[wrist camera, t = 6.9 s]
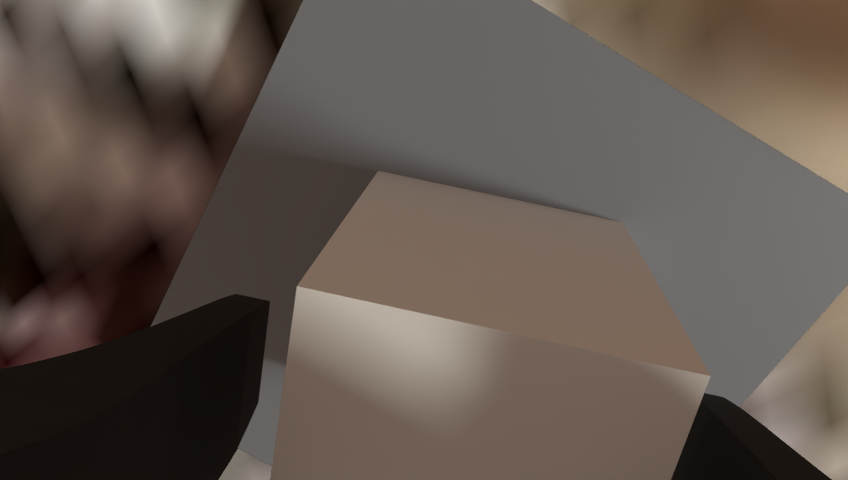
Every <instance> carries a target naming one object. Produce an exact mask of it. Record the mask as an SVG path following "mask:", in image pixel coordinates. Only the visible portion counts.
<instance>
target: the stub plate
mask: <svg viewBox="0 0 848 480" xmlns="http://www.w3.org/2000/svg"><path fill="white" fill-rule="evenodd" d="M378 171H382V172H387V173H392V174H396V175H401V176H406V177H411V178H415V179H420V180H425V181H430V182H434V183H439V184H444V185H449V186H453V187H458V188H463V189H467V190H472V191H477V192H482V193H486V194H491V195H496V196H501V197H505V198H510V199H515V200H519V201H524V202H529V203H534V204H538V205H543V206H548V207H553V208H557V209H562V210H567V211H572V212H576V213H581V214H586V215H590V216H595V217H600V218H605V219H609V220H614V221H619V222H623V224H624V226H625V227H626V229H627V231H628V233H629V234H630V236H631V238H632V240H633V241H634V243H635V245H636V247H637V248H638V250H639V252H640V253H641V255H642V257H643V259H644V260H645V262H646V264H647V266H648V267H649V269H650V271H651V273H652V274H653V276H654V278H655V280H656V281H657V283H658V285H659V287H660V288H661V290H662V292H663V294H664V295H665V297H666V299H667V301H668V302H669V304H670V306H671V308H672V309H673V311H674V313H675V315H676V316H677V318H678V320H679V322H680V323H681V325H682V327H683V329H684V330H685V332H686V334H687V336H688V337H689V339H690V341H691V343H692V344H693V346H694V348H695V350H696V351H697V353H698V355H699V357H700V358H701V360H702V362H703V364H704V365H705V367H706V369H707V371H708V372H709V374H710V376H711V377H710V379H709V382H708V385H707V387H706V390H705V392H704V393H707V394H711V395H716V396H721V397H724V398H726V399H727V400H729V401H731V402H732V403H734V404H735V405H737V406H738V407H740V406H741V405H742V404H743V403H744V402H745V400H746V399H747V398H748V397H749V396H750V395H751V394H752V393H753V391H754V390H755V389H756V388H757V387H758V386H759V385H760V383H761V382H762V381H763V380H764V379H765V378H766V377H767V376H768V374H769V373H770V372H771V371H772V370H773V369H774V368H775V367H776V365H777V364H778V363H779V362H780V361H781V360H782V359H783V357H784V356H785V355H786V354H787V353H788V352H789V351H790V350H791V348H792V347H793V346H794V345H795V344H796V343H797V342H798V341H799V339H800V338H801V337H802V336H803V335H804V334H805V333H806V331H807V330H808V329H809V328H810V327H811V326H812V325H813V324H814V322H815V321H816V320H817V319H818V318H819V317H820V316H821V314H822V313H823V312H824V311H825V310H826V309H827V308H828V307H829V305H830V304H831V303H832V302H833V301H834V300H835V299H836V298H837V296H838V295H839V294H840V293H841V292H842V291H843V290H844V288H845V287H846V286H847V285H848V193H846V192H845V191H843V190H841V189H840V188H838V187H836V186H835V185H833V184H832V183H830V182H828V181H827V180H825V179H823V178H822V177H820V176H818V175H817V174H815V173H813V172H812V171H810V170H809V169H807V168H805V167H804V166H802V165H800V164H799V163H797V162H795V161H794V160H792V159H791V158H789V157H787V156H786V155H784V154H782V153H781V152H779V151H777V150H776V149H774V148H772V147H771V146H769V145H768V144H766V143H764V142H763V141H761V140H759V139H758V138H756V137H754V136H753V135H751V134H750V133H748V132H746V131H745V130H743V129H741V128H740V127H738V126H736V125H735V124H733V123H732V122H730V121H728V120H727V119H725V118H723V117H722V116H720V115H718V114H717V113H715V112H713V111H712V110H710V109H709V108H707V107H705V106H704V105H702V104H700V103H699V102H697V101H695V100H694V99H692V98H691V97H689V96H687V95H686V94H684V93H682V92H681V91H679V90H677V89H676V88H674V87H672V86H671V85H669V84H668V83H666V82H664V81H663V80H661V79H659V78H658V77H656V76H654V75H653V74H651V73H650V72H648V71H646V70H645V69H643V68H641V67H640V66H638V65H636V64H635V63H633V62H631V61H630V60H628V59H627V58H625V57H623V56H622V55H620V54H618V53H617V52H615V51H613V50H612V49H610V48H609V47H607V46H605V45H604V44H602V43H600V42H599V41H597V40H595V39H594V38H592V37H590V36H589V35H587V34H586V33H584V32H582V31H581V30H579V29H577V28H576V27H574V26H572V25H571V24H569V23H568V22H566V21H564V20H563V19H561V18H559V17H558V16H556V15H554V14H553V13H551V12H550V11H548V10H546V9H545V8H543V7H541V6H540V5H538V4H536V3H535V2H533V1H531V0H303V2H302V4H301V6H300V8H299V10H298V12H297V14H296V16H295V19H294V21H293V23H292V25H291V27H290V29H289V31H288V34H287V36H286V38H285V40H284V42H283V44H282V46H281V49H280V51H279V53H278V55H277V57H276V59H275V61H274V64H273V66H272V68H271V70H270V72H269V74H268V76H267V79H266V81H265V83H264V85H263V87H262V89H261V91H260V94H259V96H258V98H257V100H256V102H255V104H254V106H253V108H252V111H251V113H250V115H249V117H248V119H247V121H246V123H245V126H244V128H243V130H242V132H241V134H240V136H239V138H238V141H237V143H236V145H235V147H234V149H233V151H232V153H231V156H230V158H229V160H228V162H227V164H226V166H225V168H224V171H223V173H222V175H221V177H220V179H219V181H218V183H217V186H216V188H215V190H214V192H213V194H212V196H211V198H210V200H209V203H208V205H207V207H206V209H205V211H204V213H203V215H202V218H201V220H200V222H199V224H198V226H197V228H196V230H195V233H194V235H193V237H192V239H191V241H190V243H189V245H188V248H187V250H186V252H185V254H184V256H183V258H182V260H181V263H180V265H179V267H178V269H177V271H176V273H175V275H174V277H173V280H172V282H171V284H170V286H169V288H168V290H167V292H166V295H165V297H164V299H163V301H162V303H161V305H160V307H159V310H158V312H157V314H156V316H155V318H154V320H153V322H152V325H151V326H154V325H156V324H159V323H161V322H164V321H166V320H169V319H171V318H174V317H176V316H179V315H181V314H184V313H186V312H189V311H191V310H193V309H196V308H198V307H201V306H203V305H206V304H208V303H211V302H213V301H216V300H218V299H221V298H224V297H227V296H230V295H234V294H239V295H244V296H249V297H253V298H258V299H263V300H267V301H270V307H269V316H268V325H267V333H266V342H265V350H264V359H263V368H262V376H261V385H260V394H259V402H258V405H257V407H256V409H255V411H254V414H253V416H252V418H251V420H250V423H249V425H248V427H247V429H246V432H245V434H244V436H243V438H242V440H241V442H240V444H239V446H238V449H240V450H242V451H243V452H245V453H247V454H249V455H251V456H253V457H255V458H257V459H259V460H260V461H262V462H264V463H266V464H268V465H270V466H272V463H273V456H274V449H275V441H276V434H277V427H278V420H279V412H280V405H281V398H282V391H283V383H284V376H285V369H286V361H287V354H288V347H289V340H290V332H291V325H292V318H293V311H294V303H295V296H296V289H297V285H298V284H299V282H300V281H301V280H302V278H303V277H304V275H305V274H306V272H307V271H308V270H309V268H310V267H311V265H312V264H313V263H314V261H315V260H316V258H317V257H318V255H319V254H320V253H321V251H322V250H323V248H324V247H325V246H326V244H327V243H328V241H329V240H330V238H331V237H332V236H333V234H334V233H335V231H336V230H337V229H338V227H339V226H340V224H341V223H342V221H343V220H344V219H345V217H346V216H347V214H348V213H349V212H350V210H351V209H352V207H353V206H354V204H355V203H356V202H357V200H358V199H359V197H360V196H361V195H362V193H363V192H364V190H365V189H366V187H367V186H368V185H369V183H370V182H371V180H372V179H373V178H374V176H375V175H376V173H377V172H378Z"/></svg>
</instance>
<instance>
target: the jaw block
mask: <svg viewBox="0 0 848 480" xmlns="http://www.w3.org/2000/svg"><path fill="white" fill-rule="evenodd" d="M710 377H711V376H710V374H709V372H708V371H707V369H706V367H705V365H704V364H703V362H702V360H701V358H700V357H699V355H698V353H697V351H696V350H695V348H694V346H693V344H692V343H691V341H690V339H689V337H688V336H687V334H686V332H685V330H684V329H683V327H682V325H681V323H680V322H679V320H678V318H677V316H676V315H675V313H674V311H673V309H672V308H671V306H670V304H669V302H668V301H667V299H666V297H665V295H664V294H663V292H662V290H661V288H660V287H659V285H658V283H657V281H656V280H655V278H654V276H653V274H652V273H651V271H650V269H649V267H648V266H647V264H646V262H645V260H644V259H643V257H642V255H641V253H640V252H639V250H638V248H637V247H636V245H635V243H634V241H633V240H632V238H631V236H630V234H629V233H628V231H627V229H626V227H625V226H624V224H623V222H619V221H614V220H609V219H605V218H600V217H595V216H590V215H586V214H581V213H576V212H572V211H567V210H562V209H557V208H553V207H548V206H543V205H538V204H534V203H529V202H524V201H519V200H515V199H510V198H505V197H501V196H496V195H491V194H486V193H482V192H477V191H472V190H467V189H463V188H458V187H453V186H449V185H444V184H439V183H434V182H430V181H425V180H420V179H415V178H411V177H406V176H401V175H396V174H392V173H387V172H382V171H378V172H377V173H376V175H375V176H374V178H373V179H372V180H371V182H370V183H369V185H368V186H367V187H366V189H365V190H364V192H363V193H362V195H361V196H360V197H359V199H358V200H357V202H356V203H355V204H354V206H353V207H352V209H351V210H350V212H349V213H348V214H347V216H346V217H345V219H344V220H343V221H342V223H341V224H340V226H339V227H338V229H337V230H336V231H335V233H334V234H333V236H332V237H331V238H330V240H329V241H328V243H327V244H326V246H325V247H324V248H323V250H322V251H321V253H320V254H319V255H318V257H317V258H316V260H315V261H314V263H313V264H312V265H311V267H310V268H309V270H308V271H307V272H306V274H305V275H304V277H303V278H302V280H301V281H300V282H299V284H298V285H297V289H296V296H295V303H294V311H293V318H292V325H291V332H290V340H289V347H288V354H287V361H286V369H285V376H284V383H283V391H282V398H281V405H280V412H279V420H278V427H277V434H276V441H275V449H274V456H273V463H272V470H271V478H270V480H671V478H672V476H673V473H674V471H675V468H676V465H677V463H678V460H679V458H680V455H681V452H682V450H683V447H684V444H685V442H686V439H687V437H688V434H689V431H690V429H691V426H692V424H693V421H694V418H695V416H696V413H697V411H698V408H699V405H700V403H701V400H702V398H703V395H704V392H705V390H706V387H707V385H708V382H709V379H710Z"/></svg>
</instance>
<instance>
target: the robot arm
mask: <svg viewBox="0 0 848 480" xmlns="http://www.w3.org/2000/svg"><path fill="white" fill-rule="evenodd" d="M269 307H270V301H267V300H263V299H258V298H253V297H249V296H244V295H239V294H234V295H230V296H227V297H224V298H221V299H218V300H216V301H213V302H211V303H208V304H206V305H203V306H201V307H198V308H196V309H193V310H191V311H189V312H186V313H184V314H181V315H179V316H176V317H174V318H171V319H169V320H166V321H164V322H161V323H159V324H156V325H154V326H151V327H148V328H145V329H143V330H140V331H137V332H134V333H131V334H128V335H125V336H123V337H120V338H117V339H114V340H111V341H108V342H105V343H102V344H100V345H97V346H93V347H90V348H87V349H83V350H80V351H76V352H73V353H69V354H66V355H62V356H58V357H54V358H50V359H46V360H42V361H38V362H33V363H29V364H24V365H20V366H14V367H9V368H3V369H0V480H218V479H219V478H220V476H221V475H222V473H223V471H224V470H225V468H226V467H227V465H228V463H229V462H230V460H231V459H232V457H233V455H234V454H235V452H236V450H237V449H238V446H239V444H240V442H241V440H242V438H243V436H244V434H245V432H246V429H247V427H248V425H249V423H250V420H251V418H252V416H253V414H254V411H255V409H256V407H257V405H258V402H259V394H260V385H261V376H262V368H263V359H264V350H265V342H266V333H267V325H268V316H269ZM671 480H831V479H830V478H829V477H827V476H826V475H825V474H824V473H822V472H821V471H820V470H819V469H817V468H816V467H815V466H813V465H812V464H811V463H810V462H808V461H807V460H806V459H805V458H803V457H802V456H801V455H800V454H798V453H797V452H796V451H795V450H793V449H792V448H791V447H790V446H788V445H787V444H786V443H785V442H783V441H782V440H781V439H780V438H778V437H777V436H776V435H775V434H773V433H772V432H771V431H770V430H768V429H767V428H766V427H765V426H763V425H762V424H761V423H760V422H758V421H757V420H756V419H754V418H753V417H752V416H750V415H749V414H748V413H746V412H745V411H744V410H742V409H741V408H740V407H738V406H737V405H735V404H734V403H732V402H731V401H729V400H727V399H726V398H724V397H721V396H716V395H711V394H707V393H704V395H703V398H702V400H701V403H700V405H699V408H698V411H697V413H696V416H695V418H694V421H693V424H692V426H691V429H690V431H689V434H688V437H687V439H686V442H685V444H684V447H683V450H682V452H681V455H680V458H679V460H678V463H677V465H676V468H675V471H674V473H673V476H672V478H671Z"/></svg>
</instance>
